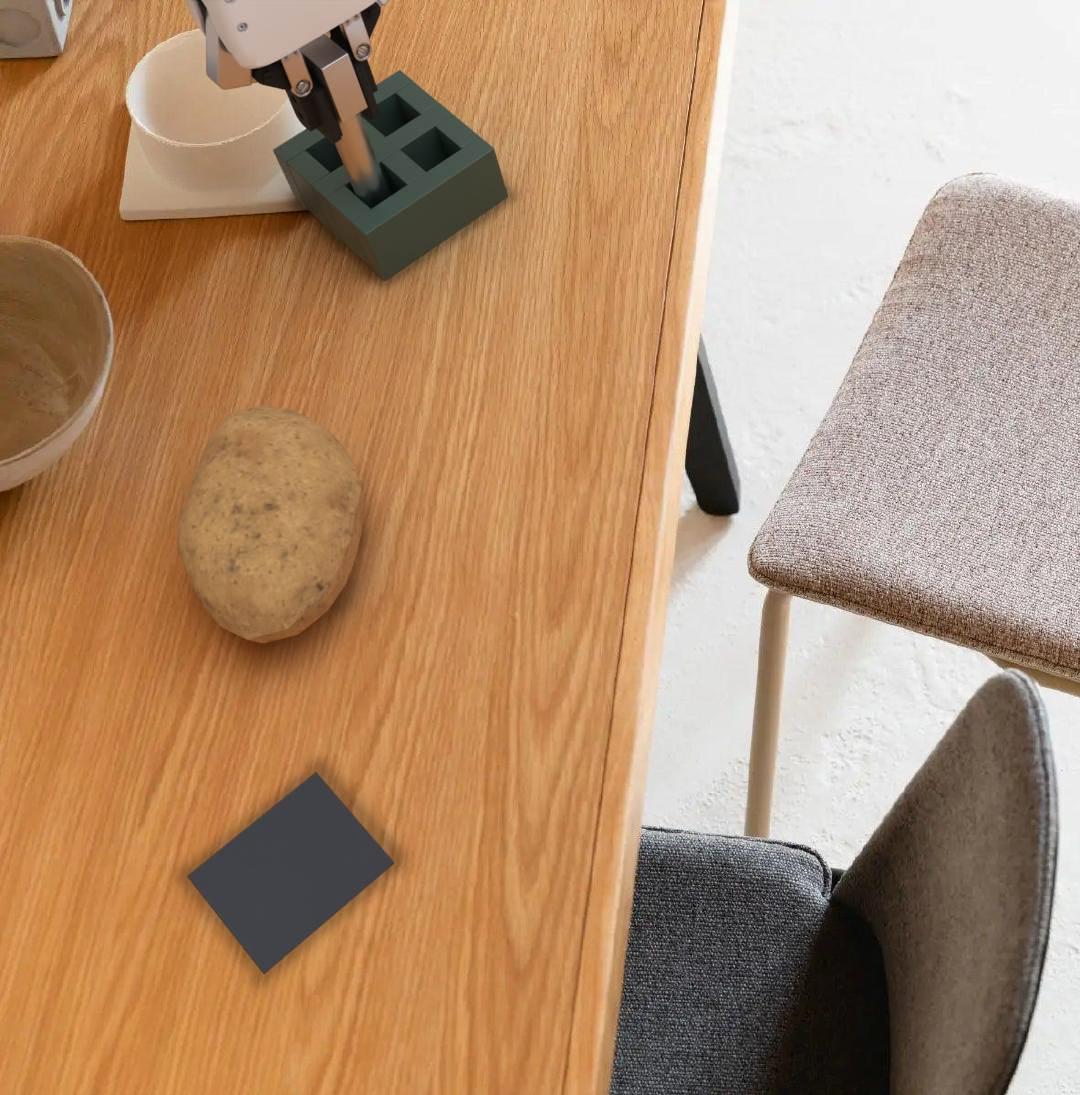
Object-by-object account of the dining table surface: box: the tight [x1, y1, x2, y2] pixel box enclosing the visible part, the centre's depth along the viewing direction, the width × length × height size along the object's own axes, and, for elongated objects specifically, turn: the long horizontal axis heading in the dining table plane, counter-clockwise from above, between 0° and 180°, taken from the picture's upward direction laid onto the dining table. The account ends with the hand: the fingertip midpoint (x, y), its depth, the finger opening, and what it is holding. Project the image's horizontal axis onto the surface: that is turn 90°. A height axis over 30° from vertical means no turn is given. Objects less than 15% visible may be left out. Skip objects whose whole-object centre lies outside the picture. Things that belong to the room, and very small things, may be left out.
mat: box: [187, 771, 395, 975], centre depth 75 cm, size 7×8×1 cm
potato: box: [176, 404, 366, 644], centre depth 81 cm, size 10×14×8 cm
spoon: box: [299, 33, 391, 209], centre depth 88 cm, size 4×2×14 cm, turn 45°
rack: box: [272, 69, 509, 282], centre depth 95 cm, size 10×10×5 cm
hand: (342, 116), depth 87 cm, fingers closed on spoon, 2 cm apart
